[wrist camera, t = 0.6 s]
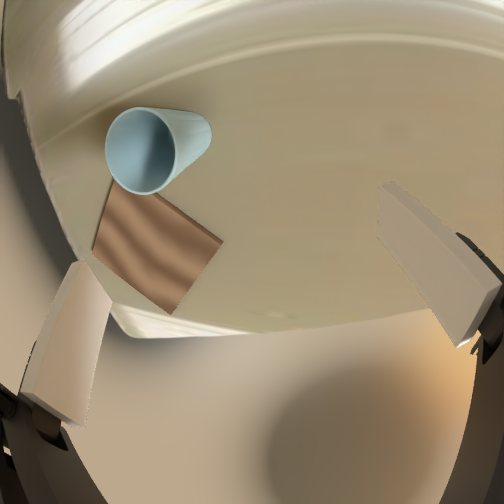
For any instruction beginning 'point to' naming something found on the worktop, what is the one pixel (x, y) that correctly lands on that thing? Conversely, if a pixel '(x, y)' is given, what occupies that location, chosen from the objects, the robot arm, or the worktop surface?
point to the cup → (154, 146)
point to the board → (153, 245)
